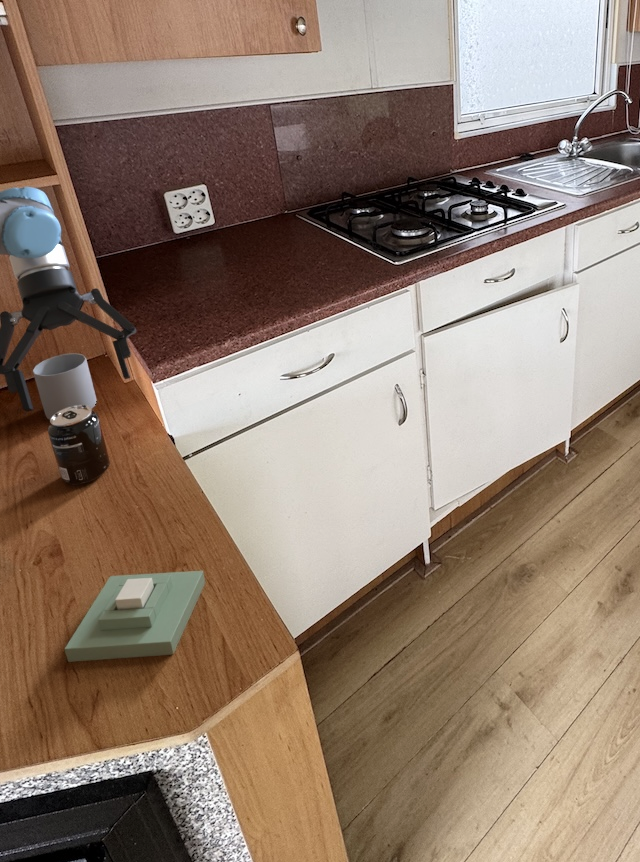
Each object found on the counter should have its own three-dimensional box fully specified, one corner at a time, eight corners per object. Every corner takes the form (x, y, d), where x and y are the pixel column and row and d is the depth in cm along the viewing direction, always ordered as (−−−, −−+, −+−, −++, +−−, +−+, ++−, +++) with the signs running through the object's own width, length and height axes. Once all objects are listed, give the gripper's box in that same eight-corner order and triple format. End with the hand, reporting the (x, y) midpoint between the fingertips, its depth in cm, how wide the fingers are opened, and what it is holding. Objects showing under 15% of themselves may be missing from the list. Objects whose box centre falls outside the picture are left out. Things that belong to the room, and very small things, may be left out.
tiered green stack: (68, 662, 69) (60, 638, 67) (113, 587, 78) (107, 565, 77) (173, 654, 70) (167, 631, 68) (205, 582, 79) (201, 560, 78)
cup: (104, 394, 120) (93, 352, 117) (84, 418, 113) (73, 373, 109) (59, 397, 119) (47, 355, 116) (36, 422, 111) (22, 377, 108)
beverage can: (95, 456, 102) (80, 398, 98) (120, 468, 100) (105, 409, 96) (53, 480, 97) (35, 420, 93) (78, 494, 94) (61, 432, 90)
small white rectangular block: (117, 610, 71) (114, 600, 71) (130, 589, 74) (127, 578, 73) (143, 609, 71) (140, 598, 71) (154, 587, 74) (152, 577, 74)
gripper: (130, 262, 108) (164, 368, 105) (-44, 303, 95) (-10, 426, 92) (126, 249, 102) (162, 361, 99) (-61, 291, 88) (-25, 423, 85)
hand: (79, 393), depth 95 cm, fingers open, 13 cm apart
